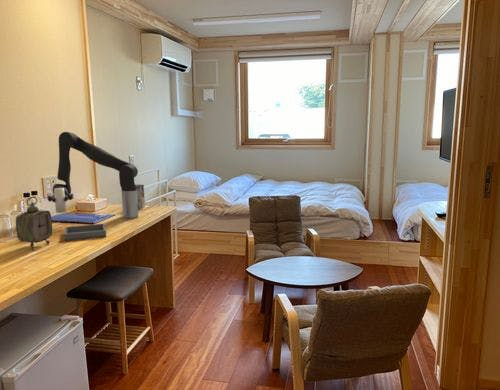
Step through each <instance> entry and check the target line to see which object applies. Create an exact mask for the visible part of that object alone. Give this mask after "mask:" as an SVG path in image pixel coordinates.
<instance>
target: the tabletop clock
mask: <svg viewBox="0 0 500 390" xmlns="http://www.w3.org/2000/svg"><path fill="white" fill-rule="evenodd" d="M31 199H35V200H36V201H35V203H34V202H31V203H30V204H29V203H28V202H29V201H30V200H31ZM37 203H38V198H37V197H36V196H30V197H28V198H27V199H26V205H27V206H29V207H27V209H26V211H23V212H22V213H20V214H18V215H17V216H16V218H15V229H16V236H17V239H18V240H19V241H20V242H23V243H30V245H29V246H30V247H31V248H30V251H32V252H33V251H35V247H34V246H35V245H34V243H35V244H38V243H41V242H44V241H45V243H46V244H47V245H49V244H50V242H51V241H50V240H49V238H51V237H52V235H53V222H52V221H53V220H52V215H51V214H52V213H51V212H50V210H41V209H39V207H37V206H36V204H37ZM47 239H48V240H47Z"/></svg>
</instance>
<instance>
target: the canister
mask: <svg viewBox="0 0 500 390" xmlns="http://www.w3.org/2000/svg"><path fill="white" fill-rule="evenodd" d="M53 195H54V196H55V202H54V204H55V212H56V213H57V214H58V213H59V214H63V213H66V212H67V206H66V204H67V203H66V202H65V192H64V188H55V189H54V194H53Z"/></svg>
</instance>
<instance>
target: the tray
mask: <svg viewBox="0 0 500 390" xmlns="http://www.w3.org/2000/svg"><path fill="white" fill-rule="evenodd" d="M106 237H107V229H106V226H105V223H96V224H85V225H74V226H71V225H70V226H65V227H64V241H65V242H69V241H70V240H71V241H79V239H81V240H87V239H88V240H89V239H90V238H91V239H98V238H99V239H100V238H101V239H102V238H106Z"/></svg>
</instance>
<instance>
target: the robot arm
mask: <svg viewBox="0 0 500 390" xmlns="http://www.w3.org/2000/svg"><path fill="white" fill-rule="evenodd" d="M71 149H73V150H76V151H78V152H80V153H81V154H83V155H84V156H85V157H87V159H89V160H91V161H92V162H94V163H96V164H98V165H100V166H101V167H102V166H103V167H106V168H110V169H114V170H115V171H117V172H118V177H119V179H118V180H119V185H120V189H121V205H122V206H121V207H122V209H121V210H122V218H123V219H134V218H139V210H138V202H137V186H136V185H137V184H135V178H136V177H137V175H138V174H139V172H138V171H139V170H138V168H137V166H135V165H134V164H133V163H130V162H128V161H125V160H123V159H121V158H119V157H117V156H115V155H114V154H112V153H110V152H108V151H106V150H105V149H102V148H101V147H99V146H97V145H94V144H93V143H90V142H87V141H85V140H84V139H82V138H81V137H80V136H78V135H77V134H75V133H73V132H70V131H62V132H61V133H60V134H59V136H58V155H59V156H58V170H57V177H56V179H57V180H59V181H62V182H64V183H65V184H64V183H63V184H61V183H55V184H53V186H52V193H53V195H52V196H51V195H47V197H46V198H47V201H48V202H52V203H55V196H54V189H55V188H64V192H65V203H66V202H68V201H72V200H73V199H74V193H72V188H71V181H70V180H71V178H70V177H71V170H72V167H71V159H70V152H71Z"/></svg>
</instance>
